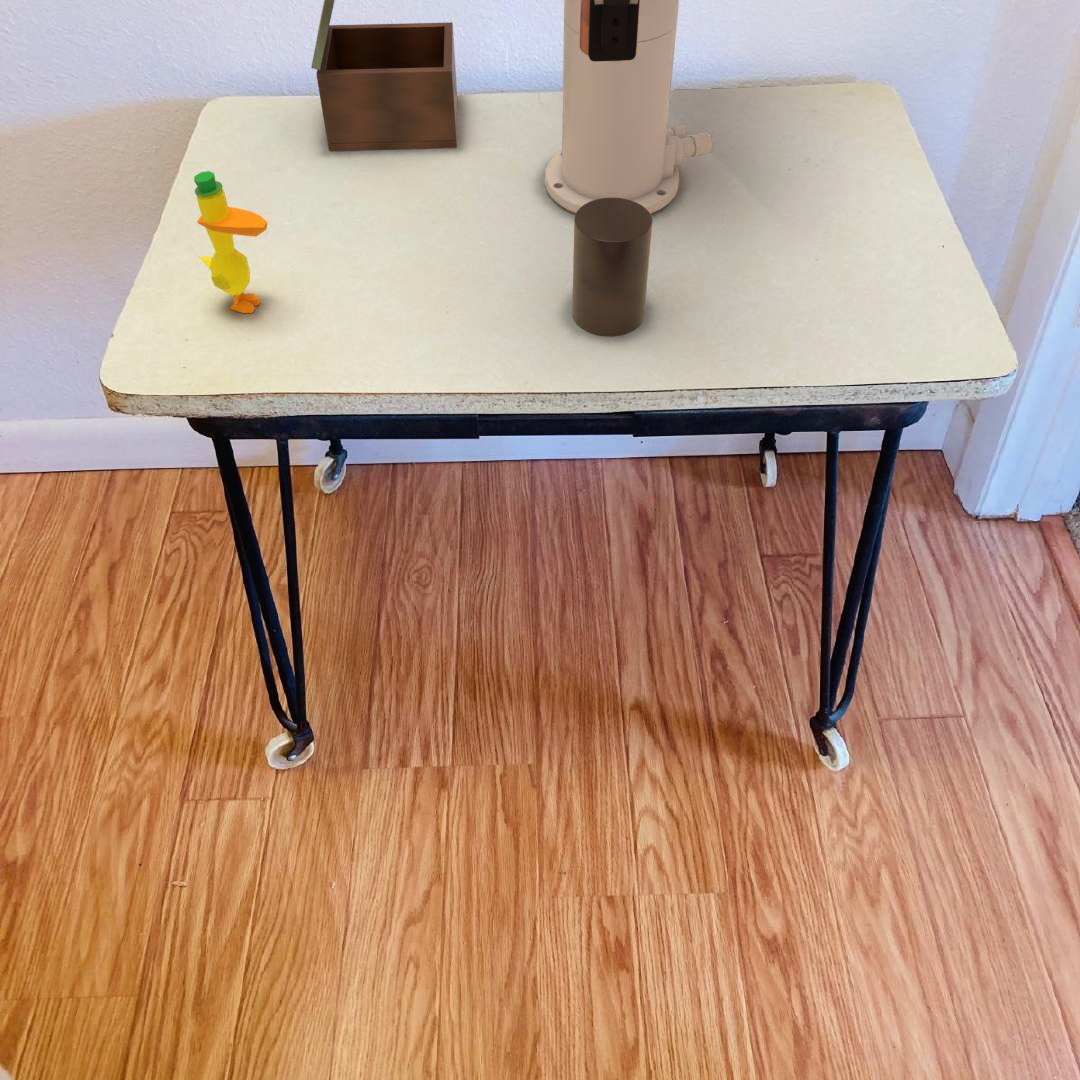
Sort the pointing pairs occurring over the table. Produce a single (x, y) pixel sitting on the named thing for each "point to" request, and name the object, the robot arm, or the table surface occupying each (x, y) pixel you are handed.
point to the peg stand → (610, 265)
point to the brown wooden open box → (389, 86)
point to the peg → (586, 25)
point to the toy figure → (227, 240)
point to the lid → (322, 33)
